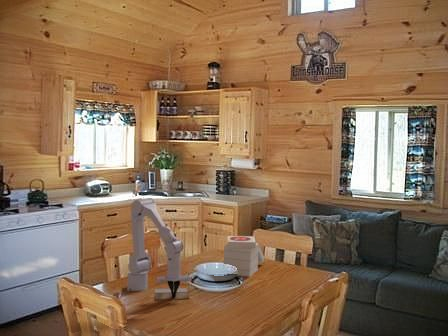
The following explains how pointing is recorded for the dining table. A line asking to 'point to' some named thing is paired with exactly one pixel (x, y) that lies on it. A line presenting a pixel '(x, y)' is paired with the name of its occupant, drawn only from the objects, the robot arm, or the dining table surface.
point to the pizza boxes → (243, 254)
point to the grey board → (180, 290)
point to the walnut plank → (169, 296)
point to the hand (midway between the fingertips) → (173, 297)
